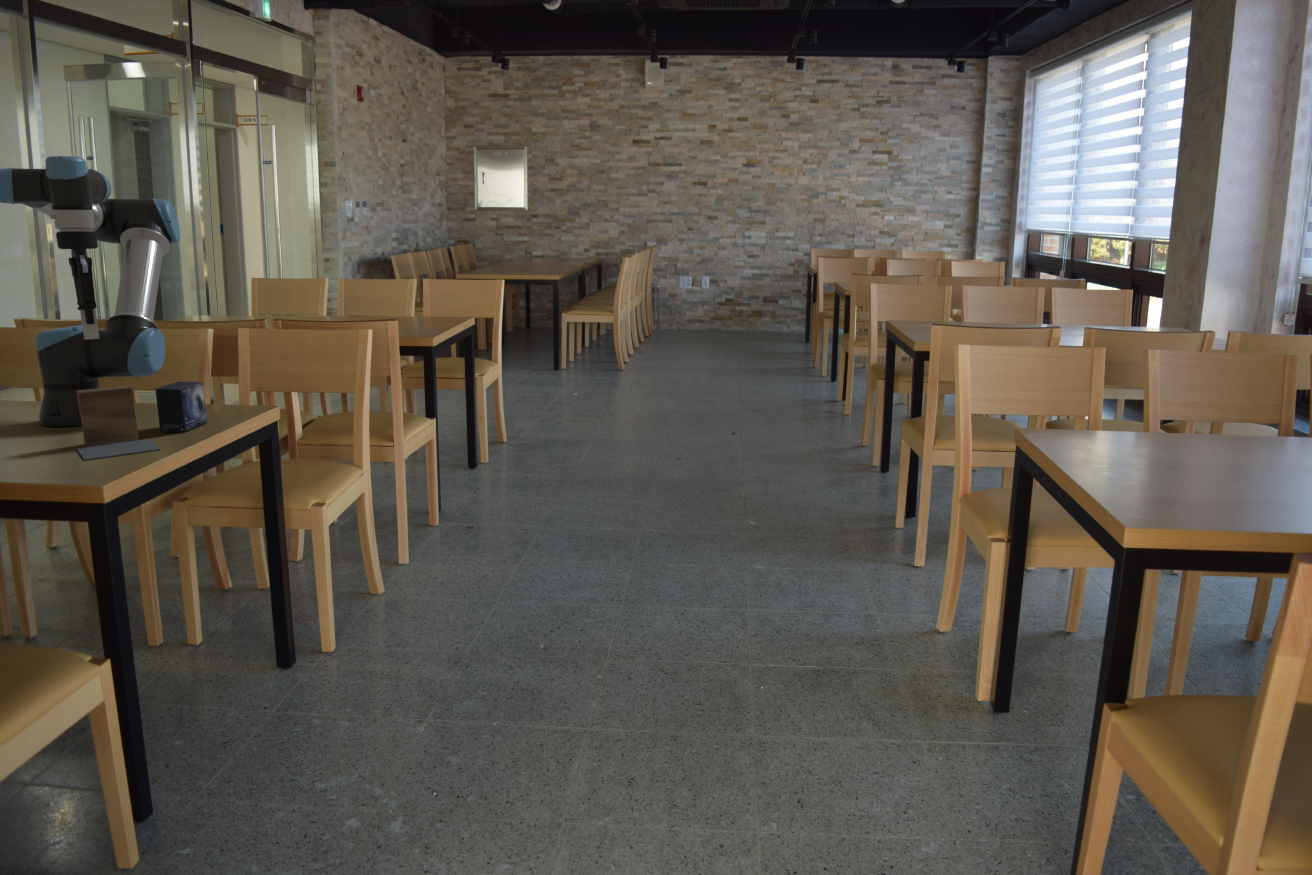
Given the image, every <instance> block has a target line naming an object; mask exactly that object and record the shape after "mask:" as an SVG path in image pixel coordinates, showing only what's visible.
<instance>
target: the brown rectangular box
mask: <svg viewBox="0 0 1312 875" xmlns="http://www.w3.org/2000/svg"><path fill="white" fill-rule="evenodd" d="M77 398H78V405H79V411H80V418H81V424H82V425H81V429H82V430H81V431H82V436H83V437H82V438H83V443H84V446H85V447H91V446H99V445H106V444H114V443H122V442H129V441H137V440H140V439H139V438H140V437H139V432H138V431H139V430H138V424H137V417H136V410H135V402H134V396H133V389H132V387H131V386H129V385H123V386H114V387H113V386H112V387H105V388H104V387H103V388H101V387H100V389H90V390H80V391H77Z"/></svg>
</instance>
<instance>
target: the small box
mask: <svg viewBox="0 0 1312 875" xmlns="http://www.w3.org/2000/svg"><path fill="white" fill-rule="evenodd" d="M154 390H155V397H156V398H155V399H156V406H157V416H158V424H159V433H186V432H189V431H191V430H194V429H197V428H199V427H202V426H205V425H207V424H208V416H207V407H206V400H205V391H204V390H205V389H204V382H201V381H181V380H179V381H176V382H173V383H169V384H167V385H163V386H159V387H156V388H155V389H154Z"/></svg>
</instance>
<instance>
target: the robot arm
mask: <svg viewBox="0 0 1312 875" xmlns="http://www.w3.org/2000/svg"><path fill="white" fill-rule="evenodd" d="M111 194H112V185H111V181H110V180H109V178H108V177H107V176H106V175H104V173H102V172H100V171H97V170H95V169H93V168H88V166H87V162H86V159H84V158H83V157H80V156H74V155H73V156H72V155H71V156H69V155H68V156H67V155H53V156H52V155H50V156H47V157H46V159H45V168H18V167H17V168H16V167H15V168H14V167H13V168H12V167H9V168H8V167H5V168H0V203H1V204H11V205H15V204H21V205H24V206H27V207H30V208H31V209H33V210H36V211H37V212H40V213H41V214H45V215H47V216H49V218H50V220H54V221H53V222H54V228H55V229H56V230H58V231H56V233H55V236H56V244H57V248H58V249H59V250H70V251H71V253H70V254H71V257H68V263H69V267H70V270H71V276H72V278H73V283H74V288H75V294H76V300H77V301H76V304H77V305H78V307H76V308H77V310H78V311H79V312H80V319H81V324H76V325H70V326H64V327H63V326H62V327H57V328H51V329H47V330H43V331H40V332H38V333H37V335H36V337H35V342H36V343H35V344H36V350H35V352H36V354H37V359H38V365H39V366H38V367H39V370H40V371H39V372H40V377H41V383H42V389H43V395H42V396H43V397H42V401H41V404H40V409H39V415H38V419H39V424H40V425H41V426H43V427H49V428H50V427H54V428H58V427H59V428H60V427H64V428H65V427H75V426H82V424H81V418H80V411H79V405H78V398H77V391H80V390H90V389H101V386H100V380H99V378H100V379H101V378H104V379H105V378H124V377H125V378H130V377H134V378H141V377H145V376H147V377H148V376H153V375H156V374H158V373H159V372H160V370H161V369H162V368H163V365H164V363H165V358H166V352H167V351H166V338H165V336H164V334H163V332H162V331H161V330H160V329H159V327H158V325H157V324H156V323H155V321H154V318H155V311H156V304H157V298H158V289H159V282H160V277H161V276H160V275H161V269H162V262H163V260H162V259H163V256H165V255H167V254H168V253H169V252H170V250H171V244H173V245H174V244H178V243H179V242H181V228H180V224H179V219H178V216H177V213H176V210H175V207H174V206H173V204H172V203H171V201H169V200H167V199H165V198H164V199H163V198H154V197H152V198H145V199H144V198H143V199H142V198H110V196H111ZM98 242H103V243H108V244H121V245H122V246H123V248H124V255H123V260H122V267H121V272H120V279H119V285H118V289H117V290H118V291H117V297H116V301H115V303H116V304H115V307H114V308H115V310H114V314H113V315H112V316H110V317H108V318H107V320H106V322H105V326H104V329H99V326H98V317H97V313H96V309H97V302H96V296H95V289H94V288H95V287H94V279H93V278H94V277H93V275H94V274H93V259H92V257H89V256H88V251H87V250H88V249H89V250H92V249H93V250H94V249H98V248H99V243H98Z"/></svg>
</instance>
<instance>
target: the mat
mask: <svg viewBox="0 0 1312 875" xmlns="http://www.w3.org/2000/svg"><path fill="white" fill-rule="evenodd" d="M76 451H77V452H78V453H79V455H80V456H81V457H82V459H83V460H84V461H86V462H87V461H93V460H99V459H105V458H113V457H120V456H127V455H135V454H144V453H150V452H157V451H158V452H159V451H161V447H159V446H158V445H157V444H156V443H155V442H154V441H153V440H152V439H150V438H145V439H139V440H137V441H129V442H122V443H114V444H106V445H99V446H91V447H86V446H85V447H83V446H82V447H78V448H76Z"/></svg>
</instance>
